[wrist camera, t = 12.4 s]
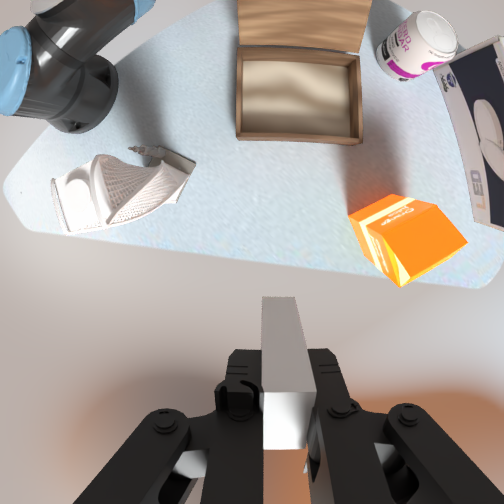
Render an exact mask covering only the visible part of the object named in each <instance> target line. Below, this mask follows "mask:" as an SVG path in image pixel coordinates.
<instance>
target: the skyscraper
mask: <svg viewBox="0 0 504 504" xmlns="http://www.w3.org/2000/svg"><path fill="white" fill-rule="evenodd" d="M128 149H129V150H133V151H134V152H138V154H140V155H142V156H144V155H148V156H151V157H153V158H152V160H151V162H150V164H149V166H148V167H139V166H134V165H130V164H126V163H124V162H122V161H121V160H119V159H118V158H116V157H113V156H110V155H105V154H100V155H96V156H95V158H94V160H91V161H89V162H88V163H86V164H84V165H82V166H80V167H78V168H76V169H74V170H72V171H70V172H68V173H67V174H65V175H63V176H61V177H59V178H58V179H54V178H52V180H51V193H52V198H53V202H54V206H55V210H56V214H57V217H58V220H59V223H60V226H61V228H62V230H63V232H64V233H65V234H66V235H67V236H69V235H73V234H78V233H84V232H90V231H96V230H101V229H107V228H111V227H115V226H119V225H123V224H126V223H129V222H132V221H135V220H137V219H140V218H142V217H144V216H146V215H148V214H150V213H151V212H153V211H155V210H156V209H158V208H159V207H160V206H162V205H163V204H166V203H177V201H178V199H179V197H180V195H181V193H182V191H183V189H184V187H185V185H186V183H187V181H188V179H189V177H190V175H191V173H192V171H193V169H194V167H195V165H196V164H195V163H193V162H191V161H189V160H187V159H185V158H183V157H181V156H179V155H177V154H175V153H173V152H171V151H169V150H167V149H165V148H163V147H161V146H158V147H155V146H151V147H149V146H145V145H143V144H142V145H141V146H140V147H137V146H134V147H129V148H128ZM54 184H55V187H56V191H57V195H58V198H59V202H60V205H61V209H62V212H63V215H64V219H65V222H66V225H67V228H68V230H67V229H66V227H65V225H64V222H63V220H62V217H61V213H60V210H59V206H58V203H57V198H56V193H55V187H54Z"/></svg>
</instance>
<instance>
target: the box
mask: <svg viewBox="0 0 504 504" xmlns="http://www.w3.org/2000/svg"><path fill="white" fill-rule="evenodd" d="M236 138H237V139H238V140H239V141H293V142H313V143H328V144H340V145H351V146H353V145H357V144H361V143H363V116H362V87H361V70H360V56H357V55H351V54H344V53H336V52H328V51H319V50H308V49H294V48H271V47H238V48H237V91H236Z"/></svg>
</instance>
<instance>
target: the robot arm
mask: <svg viewBox="0 0 504 504" xmlns="http://www.w3.org/2000/svg"><path fill="white" fill-rule="evenodd" d="M155 1H156V0H31V6H30V9H31V12H33V13H34V14H36V16H35V17H34V18H33V19H32V20H31V21H30V22H29V23H28V24H27V25H26V27H23V26H15V27H12V28H10V29H9V30H6V31H5V32H3V33H2V34H1V35H0V114H3V115H5V116H21V117H30V118H38V119H45V120H47V121H48V122H49V123H50V124H51V125H53V126H54V127H55V128H56V129H58V130H60V131H62V132H65V133H72V134H80V133H84V132H87V131H89V130H91V129H93V128H94V127H96V126H97V125H98V124H99V123H100V122H101V121H102V120H103V119H104V118H105V117H106V116H107V114H108V113H109V111H110V110H111V108H112V106H113V104H114V102H115V99H116V96H117V92H118V75H117V72H116V69H115V67H114V66H113V65H112V64H111V62H109V61H108V60H107V59H105V58H103V57H101V56H99V55H96V53H97V52H98V51H100V50H101V49H102V48H103V47H104V46H105V45H106V44H108V43H109V42H110V41H111V40H112V39H113V38H114V37H116V36H117V35H118V34H120V33H121V32H122V31H123V30H125V29H126V28H127V27H128V26H130V25H133V24H134V23H135V22H136V21H137V19H139V18H140V17H141V16H143V15H144V14H145V13H146V12H148V11H149V10H150V9H151V8H152V7H153V6H154V3H155ZM261 330H262V331H261V350H242V349H235V350H234V352H233V353H232V354H231V355H230V356H229V359H228V365H227V371H226V376H225V380H224V381H222V382H221V383H220V384H218V385H217V387H216V389H215V391H214V393H215V403H216V410H214V411H213V412H212V413H210V414H207V415H205V416H200V417H193V418H187V417H186V416H185V415H184V414H183V413H181V412H180V411H177V410H174V409H158V410H156V411H153V412H151V413H150V414H148V415H147V416H146V417H145V418H144V419H143V421H142V422H141V423H140V424H139V425H138V427H137V428H136V429H135V430H134V431H133V433H132V434H131V435H130V436H129V438H128V439H127V440H126V441H125V442H124V444H123V445H122V446H121V447H120V448H119V450H118V451H117V452H116V453H115V454H114V456H113V457H112V458H111V459H110V460H109V462H108V463H107V464H106V465H105V466H104V467H103V469H102V470H101V471H100V472H99V473H98V475H97V476H96V477H95V478H94V479H93V480H92V482H91V483H90V484H89V485H88V486H87V488H86V489H85V490H84V491H83V492H82V493H81V495H80V496H79V497H78V498H77V499H76V500H75V501H74V503H73V504H184V503H185V502H186V500H187V498H188V496H189V495H190V493H191V491H192V488H193V487H194V485H195V484H196V482H197V480H198V478H199V477H205V479H204V484H203V490H202V496H201V502H200V504H263V449H304V448H305V447H306V443H307V444H308V455H307V459H306V463H305V467H304V473H307V470H308V479H309V488H310V497H311V504H504V495H503V494H502V493H501V492H500V491H499V490H498V488H497V487H496V486H495V485H494V484H493V483H492V482H491V481H490V480H489V479H488V478H487V476H486V475H485V474H484V473H483V472H482V471H481V470H480V469H479V468H478V467H477V466H476V464H475V463H474V462H473V461H471V459H470V458H469V457H468V456H467V455H466V454H465V453H464V452H463V451H462V449H461V448H459V446H458V445H457V444H456V443H455V442H454V441H453V440H452V439H451V438H450V437H449V436H448V434H446V432H445V431H444V430H443V429H442V428H441V427H440V426H439V425H438V424H437V423H436V422H435V421H434V420H433V419H432V417H431V416H430V415H429V414H428V413H427V412H426V411H425V410H424V409H422V408H421V407H419V406H417V405H414V404H409V403H403V404H398V405H396V406H394V407H392V408H391V410H390V411H389V413H388V414H383V413H373V412H368V411H365V410H363V409H362V408H361V407H360V405H359V403H358V402H356V401H354V400H353V399H351V398H350V396H349V393H348V390H347V387H346V384H345V381H344V379H343V376H342V373H341V370H340V367H339V366H338V362H337V359H336V356H335V355H334V354H333V353H332V352H331V351H330V350H329V349H327V348H325V349H307V346H306V342H305V338H304V334H303V329H302V326H301V321H300V317H299V313H298V309H297V305H296V301H295V297H262V327H261Z"/></svg>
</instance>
